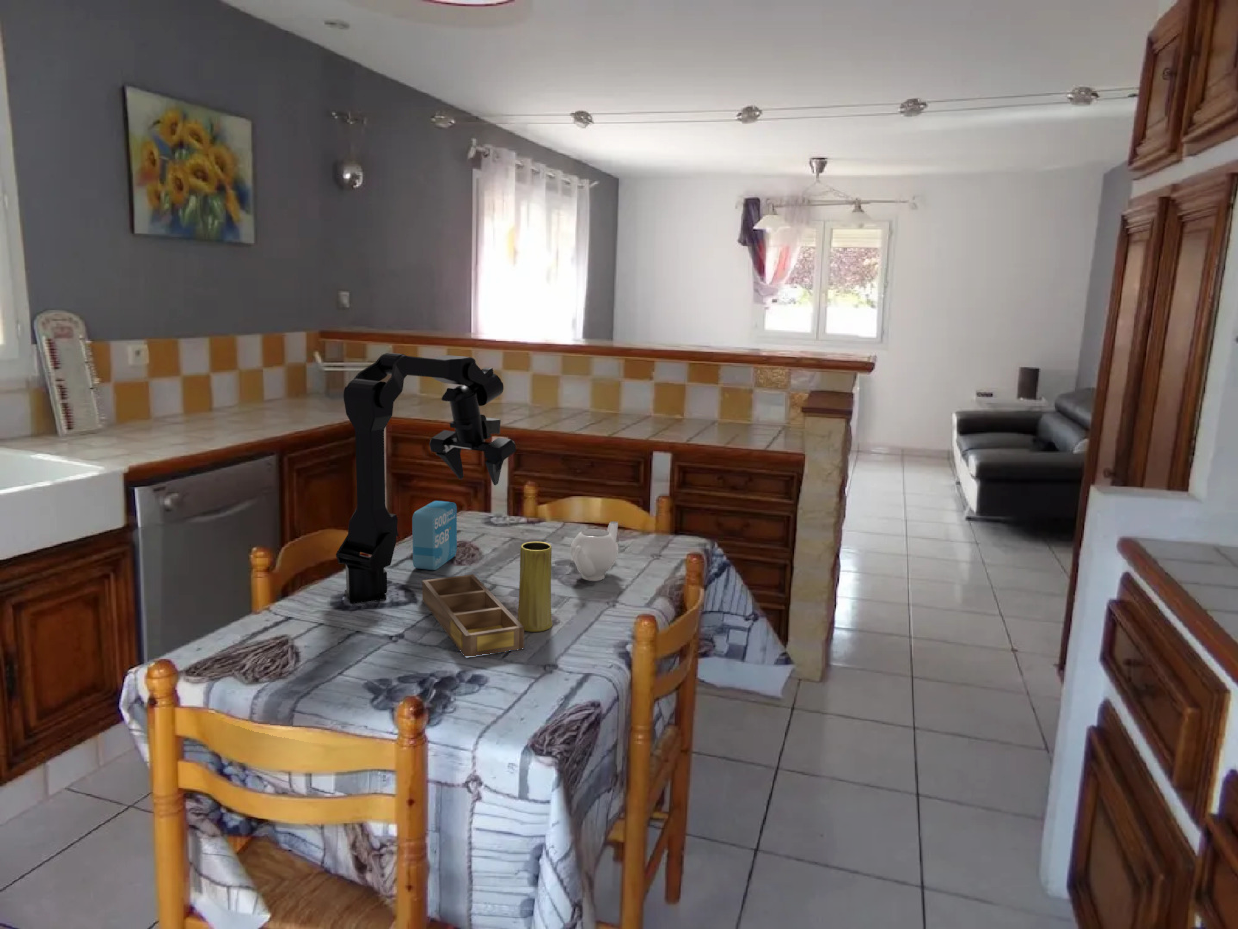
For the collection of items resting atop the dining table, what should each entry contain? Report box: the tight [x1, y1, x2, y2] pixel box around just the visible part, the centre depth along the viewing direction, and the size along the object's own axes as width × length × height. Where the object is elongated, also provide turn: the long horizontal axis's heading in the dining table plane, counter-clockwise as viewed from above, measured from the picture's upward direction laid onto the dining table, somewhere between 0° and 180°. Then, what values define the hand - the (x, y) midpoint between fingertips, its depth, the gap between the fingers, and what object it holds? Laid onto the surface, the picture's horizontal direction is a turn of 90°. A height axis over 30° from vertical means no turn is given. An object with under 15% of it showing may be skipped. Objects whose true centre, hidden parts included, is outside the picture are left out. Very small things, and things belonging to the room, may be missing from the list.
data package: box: [411, 500, 458, 571], centre depth 178 cm, size 12×4×12 cm, turn 167°
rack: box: [421, 573, 525, 657], centre depth 148 cm, size 10×27×4 cm, turn 27°
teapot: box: [570, 521, 620, 582], centre depth 173 cm, size 10×20×9 cm, turn 156°
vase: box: [517, 541, 554, 633], centre depth 147 cm, size 6×6×14 cm
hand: (478, 481), depth 185 cm, fingers open, 9 cm apart
